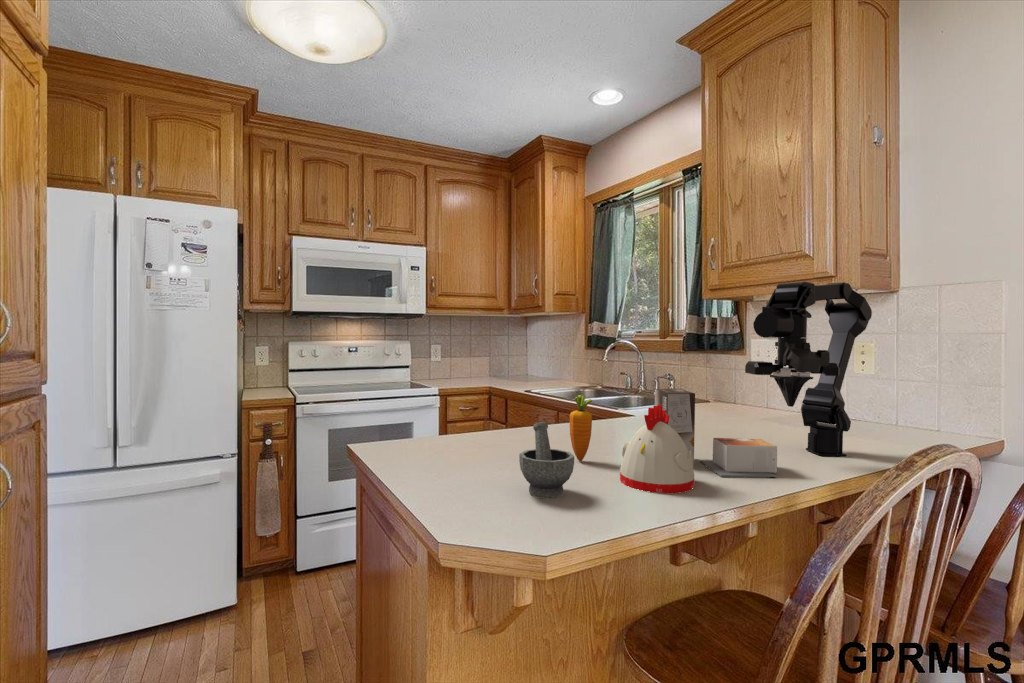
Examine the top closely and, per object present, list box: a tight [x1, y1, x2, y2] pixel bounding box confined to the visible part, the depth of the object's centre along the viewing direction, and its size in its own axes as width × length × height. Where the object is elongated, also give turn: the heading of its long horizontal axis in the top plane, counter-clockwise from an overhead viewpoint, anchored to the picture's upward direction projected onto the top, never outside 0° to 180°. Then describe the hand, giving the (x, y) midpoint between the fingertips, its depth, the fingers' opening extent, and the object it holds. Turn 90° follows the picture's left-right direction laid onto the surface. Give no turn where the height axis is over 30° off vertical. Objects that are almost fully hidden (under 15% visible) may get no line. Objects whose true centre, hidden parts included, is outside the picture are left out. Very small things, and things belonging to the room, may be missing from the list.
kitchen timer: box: [619, 405, 695, 494], centre depth 101 cm, size 14×14×15 cm
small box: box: [712, 437, 778, 473], centre depth 111 cm, size 8×6×10 cm
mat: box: [699, 459, 777, 478], centre depth 111 cm, size 11×12×1 cm
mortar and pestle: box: [518, 421, 575, 499], centre depth 94 cm, size 11×9×12 cm
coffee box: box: [654, 388, 696, 467], centre depth 117 cm, size 9×6×16 cm
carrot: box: [569, 394, 593, 462], centre depth 116 cm, size 5×5×15 cm
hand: (790, 406), depth 119 cm, fingers closed
